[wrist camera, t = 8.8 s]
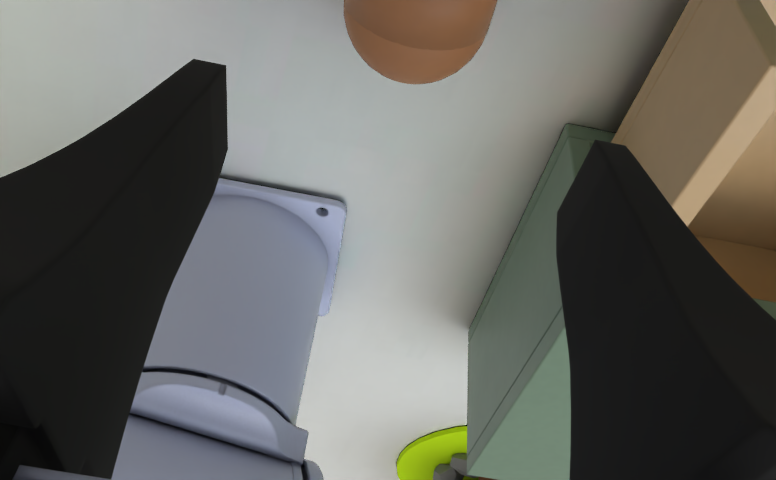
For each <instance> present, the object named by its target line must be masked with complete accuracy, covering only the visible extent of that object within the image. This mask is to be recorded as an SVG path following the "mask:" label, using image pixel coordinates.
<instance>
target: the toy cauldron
mask: <svg viewBox="0 0 776 480" xmlns="http://www.w3.org/2000/svg"><path fill="white" fill-rule="evenodd" d="M397 473H398V477H399V479H400V480H497V479H491V478H485V477H479V476H473V475H468V474H467V426H462V427H454V428H450V429H446V430H442V431H438V432H434V433H432V434H429V435H427V436H424V437H422V438H419V439H418V440H416V441H414V442H413V443H411V444H410V445H408V446H407V447H406V448H405V449H404V450H403V451H402V452H401V453H400V455H399V458H398V460H397Z"/></svg>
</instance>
